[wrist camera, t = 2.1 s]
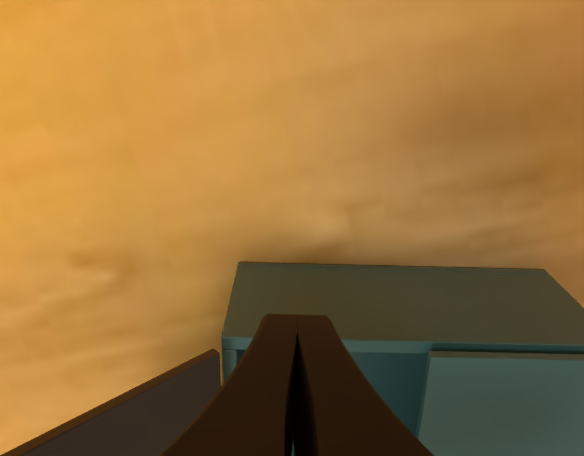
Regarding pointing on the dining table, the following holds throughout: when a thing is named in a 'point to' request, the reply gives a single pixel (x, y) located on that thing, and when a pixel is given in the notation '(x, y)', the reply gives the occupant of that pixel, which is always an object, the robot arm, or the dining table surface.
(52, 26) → the dining table surface
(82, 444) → the lid
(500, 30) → the dining table surface
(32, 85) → the dining table surface
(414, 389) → the storage box
